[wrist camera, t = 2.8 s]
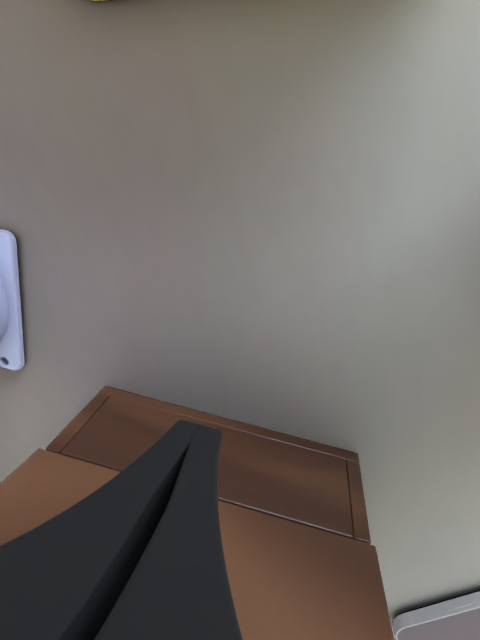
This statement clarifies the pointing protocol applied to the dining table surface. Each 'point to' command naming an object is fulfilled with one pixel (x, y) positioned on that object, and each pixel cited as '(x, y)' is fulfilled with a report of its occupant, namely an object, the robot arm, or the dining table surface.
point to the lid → (236, 558)
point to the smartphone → (442, 621)
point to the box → (230, 461)
